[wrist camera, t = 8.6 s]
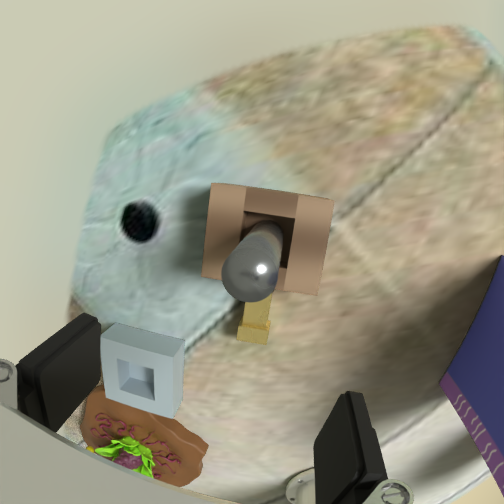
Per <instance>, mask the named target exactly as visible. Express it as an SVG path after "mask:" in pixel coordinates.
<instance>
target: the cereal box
mask: <svg viewBox="0 0 504 504" xmlns="http://www.w3.org/2000/svg"><path fill="white" fill-rule="evenodd" d="M439 385H440V386H441V388H442V389H443V391H444V392H445V394H446V396H447V397H448V399H449V400H450V402H451V404H452V405H453V407H454V408H455V410H456V412H457V413H458V415H459V417H460V418H461V420H462V422H463V423H464V425H465V427H466V428H467V430H468V432H469V433H470V435H471V437H472V439H473V440H474V442H475V444H476V446H477V447H478V449H479V451H480V453H481V455H482V456H483V458H484V460H485V462H486V464H487V466H488V467H489V469H490V471H491V473H492V475H493V477H494V479H495V481H496V482H497V485H498V487H499V489H500V490H501V492H502V494H503V497H504V256H503V255H501V257H500V260H499V262H498V265H497V268H496V270H495V273H494V275H493V278H492V280H491V283H490V285H489V288H488V290H487V292H486V295H485V297H484V299H483V301H482V304H481V306H480V308H479V310H478V312H477V314H476V316H475V318H474V320H473V322H472V324H471V326H470V328H469V330H468V332H467V334H466V336H465V338H464V340H463V342H462V344H461V346H460V347H459V349H458V351H457V353H456V355H455V356H454V358H453V360H452V362H451V363H450V365H449V367H448V368H447V370H446V372H445V373H444V375H443V377H442V378H441V380H440V381H439Z"/></svg>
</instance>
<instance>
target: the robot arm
mask: <svg viewBox="0 0 504 504" xmlns="http://www.w3.org/2000/svg"><path fill="white" fill-rule="evenodd" d="M100 344H101V324H100V323H99V322H98V319H97V318H96V317H94V316H91V315H89V314H87V313H82V314H81V315H79V316H78V317H77V318H75V319H74V320H73V321H71V322H70V323H68V324H67V325H66V326H64V327H63V328H62V329H60V330H59V331H58V332H56V333H55V334H54V335H53V336H51V337H50V338H48V339H47V340H46V341H45V342H43V343H42V344H41V345H39V346H38V347H37V348H35V349H34V350H33V351H31V352H30V353H29V354H28V355H26V356H25V357H24V358H23V359H21V360H20V361H19V363H18V364H17V365H16V366H14V364H13V363H11V362H10V361H8V360H5V359H0V504H241V503H236V502H232V501H227V500H223V499H219V498H215V497H211V496H208V495H204V494H200V493H197V492H193V491H190V490H186V489H183V488H180V487H177V486H174V485H171V484H168V483H165V482H162V481H159V480H156V479H154V478H151V477H148V476H146V475H143V474H140V473H138V472H135V471H133V470H131V469H128V468H126V467H123V466H121V465H119V464H116V463H114V462H112V461H110V460H107V459H105V458H103V457H101V456H99V455H97V454H95V453H93V452H91V451H89V450H87V449H85V448H83V447H81V446H79V445H77V444H75V443H73V442H71V441H69V440H68V439H66V438H64V437H62V436H60V435H59V434H57V433H56V432H57V431H58V430H59V429H60V427H61V426H62V425H63V424H64V423H65V421H66V420H67V419H68V418H69V417H70V416H71V414H72V413H73V412H74V411H75V410H76V408H77V407H78V406H79V405H80V404H81V403H82V401H83V400H84V399H85V398H86V397H87V396H88V394H89V393H90V392H91V391H92V390H93V389H94V387H95V386H96V385H97V384H98V382H99V380H100V377H101V363H100ZM313 449H314V468H313V469H310V470H307V471H304V472H302V473H300V474H298V475H297V476H295V477H294V478H292V479H291V480H290V481H289V483H288V484H287V487H286V497H287V499H288V501H289V502H290V503H292V504H413V501H414V495H413V492H412V490H411V489H410V488H409V486H408V485H406V484H405V483H404V482H401V481H399V480H395V479H388V477H387V473H386V469H385V465H384V461H383V457H382V453H381V449H380V446H379V442H378V438H377V435H376V431H375V429H373V428H372V426H371V422H370V418H369V415H368V411H367V407H366V404H365V400H364V397H363V394H362V393H358V392H352V391H347V392H346V393H345V394H341V395H340V396H339V398H338V400H337V402H336V404H335V406H334V408H333V410H332V411H331V413H330V415H329V417H328V419H327V420H326V422H325V424H324V426H323V428H322V429H321V431H320V433H319V434H318V436H317V438H316V440H315V442H314V448H313Z"/></svg>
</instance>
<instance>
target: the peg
mask: <svg viewBox="0 0 504 504" xmlns="http://www.w3.org/2000/svg"><path fill="white" fill-rule="evenodd" d="M282 244H283V230H282V228H281V226H280V225H279V224H278V223H277V222H275V221H273V220H262V221H260V222H258V223H257V224H256V225H255V226H254V227H253V229H252V230H251V231H250V232H249V233H248V234H247V235H246V237H245V238H244V239H243V240H242V241H241V242H240V243H239V245H238V246H237V247H236V248H235V249H234V250H233V251H232V253H231V254H230V255H229V256H228V257H227V258H226V260H225V262H224V264H223V266H222V271H221V278H222V282H223V285H224V287H225V289H226V290H227V292H228V293H229V294H230V295H231V296H233V297H234V298H236V299H238V300H240V301H243V302H249V303H251V302H258V301H261V300H263V299H265V298H267V297H268V296H269V295H270V294H271V293H272V292H273V291H274V289H275V287H276V284H277V280H278V273H279V266H280V259H281V251H282Z"/></svg>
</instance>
